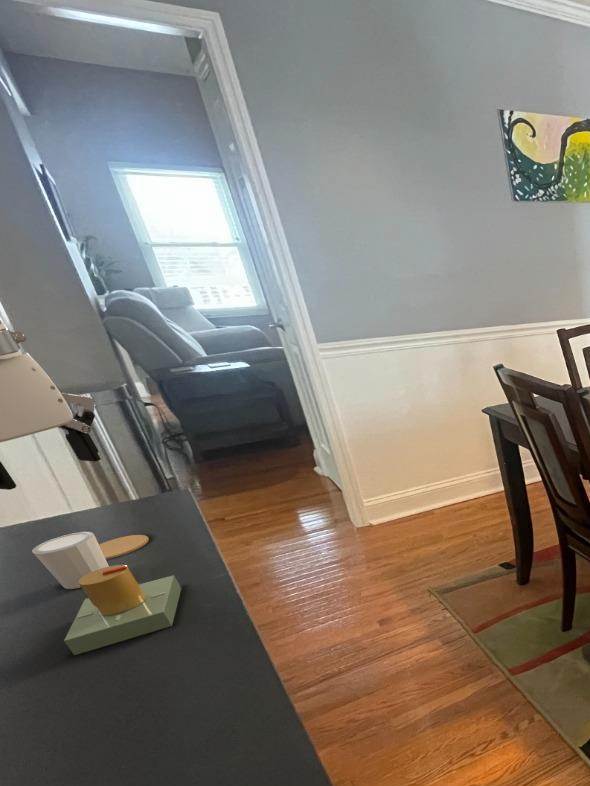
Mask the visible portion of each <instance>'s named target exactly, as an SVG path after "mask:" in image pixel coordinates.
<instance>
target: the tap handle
mask: <svg viewBox="0 0 590 786" xmlns="http://www.w3.org/2000/svg"><path fill="white" fill-rule="evenodd" d="M78 583H79V585H80V586H81V587H80V588H81V589H82V591H83V592H84V594H85V595H86V597H87V598H89V599H90V601H91V602H92V604H93V605H94V607H95V608H96V610H97V611H98V613H99V614H100V615H114V614H118V613H122V612H125V611H127V610H130V609H132V608H134V607H136V606H138V605H140V604H141V603H142V602H144V601H145V599H146V596H145V594H144V592H143V591H142V589H141V587H140V586H139V584H140V583H139V582H138V581H137V579H136V578H135V576H134V574H133V572H132V571H131V569H130V568H129V566H128V565H126V564H115V565H109V567H105V568H102V569H98V570H96V571H93V572H91V573H89V574H87V575H85V576H83V577H82V578H81V579H80V580H79V581H78Z"/></svg>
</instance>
